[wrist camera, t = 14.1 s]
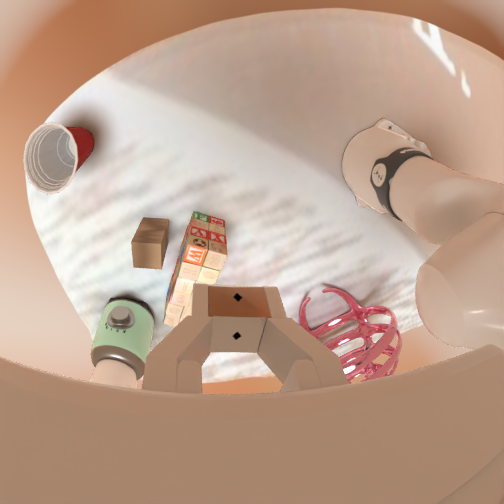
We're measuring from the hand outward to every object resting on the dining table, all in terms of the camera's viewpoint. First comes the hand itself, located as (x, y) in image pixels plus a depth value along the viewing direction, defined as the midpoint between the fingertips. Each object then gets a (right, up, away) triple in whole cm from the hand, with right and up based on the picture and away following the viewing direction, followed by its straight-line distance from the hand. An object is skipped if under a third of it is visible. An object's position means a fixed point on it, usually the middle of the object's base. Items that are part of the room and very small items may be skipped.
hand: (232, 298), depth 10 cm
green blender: (-29, -14, +52) cm, 61 cm away
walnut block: (-18, +6, +41) cm, 45 cm away
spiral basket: (+20, -14, +60) cm, 65 cm away
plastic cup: (-30, +21, +29) cm, 47 cm away
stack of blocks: (-11, 0, +46) cm, 47 cm away
